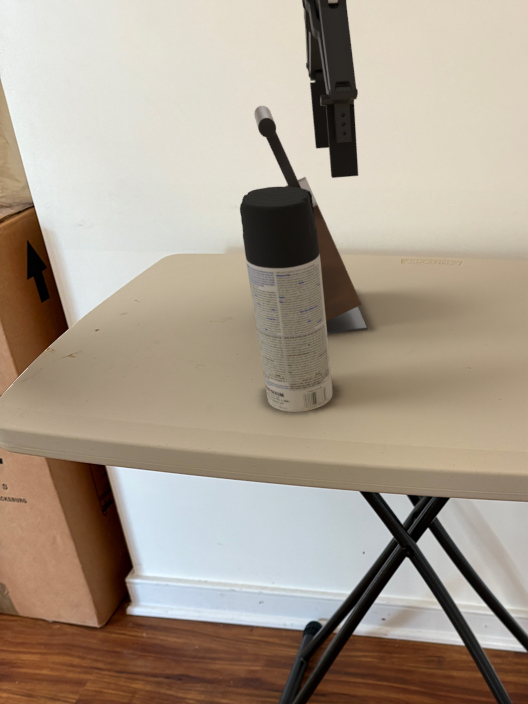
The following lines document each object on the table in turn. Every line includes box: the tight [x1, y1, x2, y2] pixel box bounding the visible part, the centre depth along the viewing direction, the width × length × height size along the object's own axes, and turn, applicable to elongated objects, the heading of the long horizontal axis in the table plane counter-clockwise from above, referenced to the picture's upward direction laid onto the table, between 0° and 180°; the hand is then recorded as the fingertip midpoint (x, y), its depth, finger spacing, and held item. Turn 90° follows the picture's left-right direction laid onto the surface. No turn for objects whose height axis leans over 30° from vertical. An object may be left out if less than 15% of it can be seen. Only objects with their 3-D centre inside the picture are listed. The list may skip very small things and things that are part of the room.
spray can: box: [239, 186, 333, 413], centre depth 71 cm, size 7×7×20 cm
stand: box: [326, 306, 368, 335], centre depth 93 cm, size 8×12×1 cm, turn 12°
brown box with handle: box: [253, 105, 362, 321], centre depth 85 cm, size 8×12×21 cm, turn 12°
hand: (335, 161), depth 83 cm, fingers open, 13 cm apart
